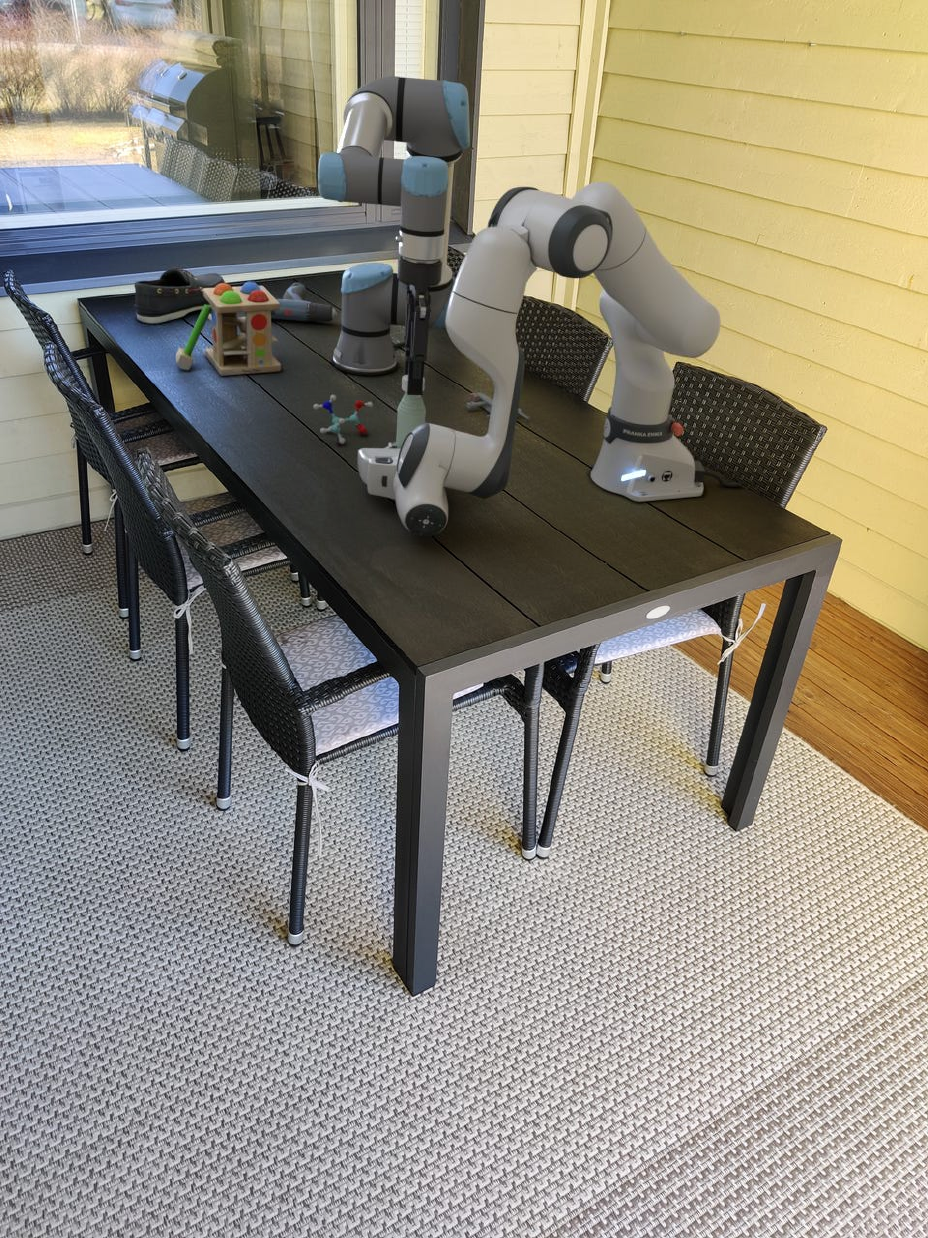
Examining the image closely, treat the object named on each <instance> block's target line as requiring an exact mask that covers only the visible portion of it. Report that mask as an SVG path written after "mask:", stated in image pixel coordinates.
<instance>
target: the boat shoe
mask: <svg viewBox="0 0 928 1238" xmlns="http://www.w3.org/2000/svg"><path fill="white" fill-rule="evenodd" d="M221 283H226V281H225V280H224V278H223V276H222V275H221V274H219V273H217V272H216V273H215V272H213V273H212V272H211V273H205V274H200V275H196V276H195V275H194V274H193V273H191V272H190V271H188V270H187V269H182V268H178V267H171V268H168V269H166V270H165V271H163V273H161V275H160V277H159V278H158V279H152V280H151V279H150V280H137V281H135V282H134V285H133V286H134V290H135V299H134V300H135V304H134V305H133V306H134V308H135V309H136V319H137V320H138V321H140V322H142V323H144V324H145V323H146V324H161V323H164V322H169V321H172V320H175V319H179V318H182V317H184V316H186V315H187V314H188V313H191V312H194V311H198V310H202V309H203V307H204V305H208V306H210V307H211V305H210V304H209V302H208V301H207V300H206V299H205V297H204V296H203V289H204V288H215V287H216V286H217V285H218V284H221Z"/></svg>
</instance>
